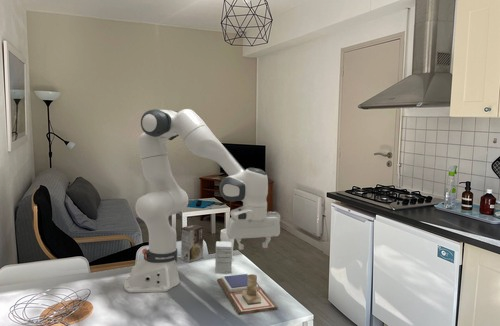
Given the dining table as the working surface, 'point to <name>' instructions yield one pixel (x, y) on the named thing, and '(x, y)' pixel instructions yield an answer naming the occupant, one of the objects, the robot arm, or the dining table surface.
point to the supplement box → (223, 257)
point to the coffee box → (192, 243)
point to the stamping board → (237, 305)
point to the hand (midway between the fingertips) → (253, 248)
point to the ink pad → (236, 282)
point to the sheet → (245, 307)
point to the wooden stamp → (251, 291)
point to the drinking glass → (226, 237)
